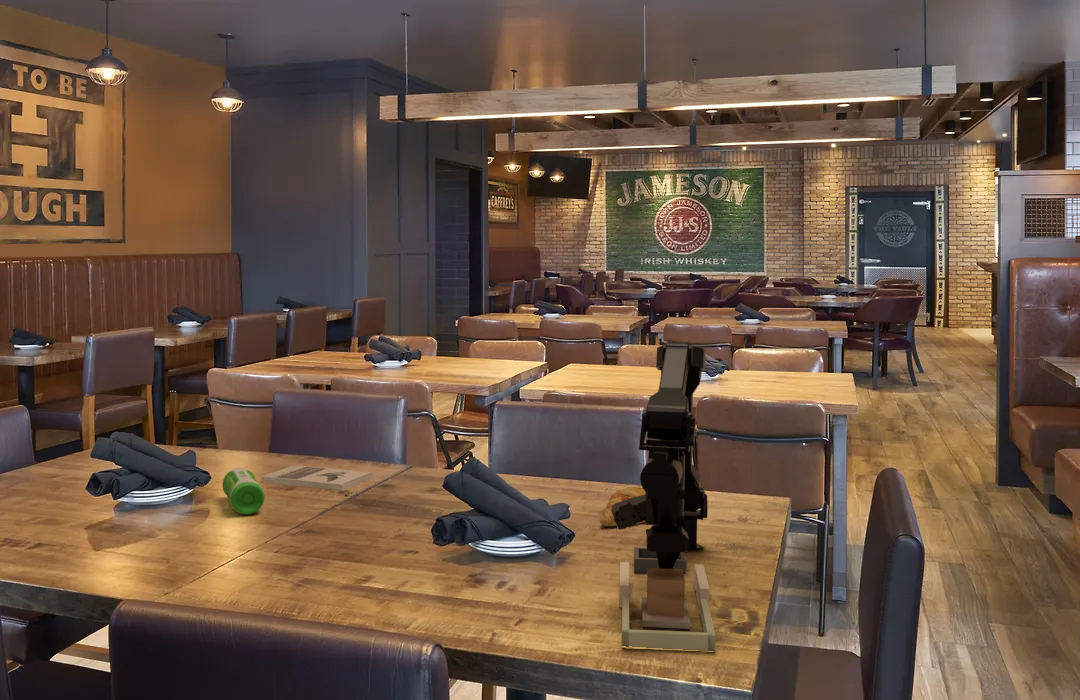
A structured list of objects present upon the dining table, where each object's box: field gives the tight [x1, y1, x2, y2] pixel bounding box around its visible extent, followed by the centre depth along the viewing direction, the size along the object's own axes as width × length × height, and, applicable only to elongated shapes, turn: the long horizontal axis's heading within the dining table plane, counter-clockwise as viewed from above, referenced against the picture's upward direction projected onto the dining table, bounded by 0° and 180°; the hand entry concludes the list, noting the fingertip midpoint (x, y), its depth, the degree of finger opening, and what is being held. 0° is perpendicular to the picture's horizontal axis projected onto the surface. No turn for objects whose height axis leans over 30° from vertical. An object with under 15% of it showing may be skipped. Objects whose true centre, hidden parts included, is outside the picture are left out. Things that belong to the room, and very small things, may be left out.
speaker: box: [222, 467, 266, 515], centre depth 213 cm, size 18×7×8 cm, turn 24°
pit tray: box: [633, 546, 687, 575], centre depth 173 cm, size 7×9×2 cm
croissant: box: [599, 486, 646, 527], centre depth 206 cm, size 21×10×8 cm, turn 143°
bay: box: [621, 595, 716, 652], centre depth 144 cm, size 14×13×2 cm
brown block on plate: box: [641, 568, 691, 630], centre depth 149 cm, size 10×7×6 cm
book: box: [260, 464, 374, 492], centre depth 239 cm, size 23×14×2 cm, turn 69°
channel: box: [619, 561, 710, 610], centre depth 159 cm, size 12×14×4 cm
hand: (664, 578), depth 155 cm, fingers closed
